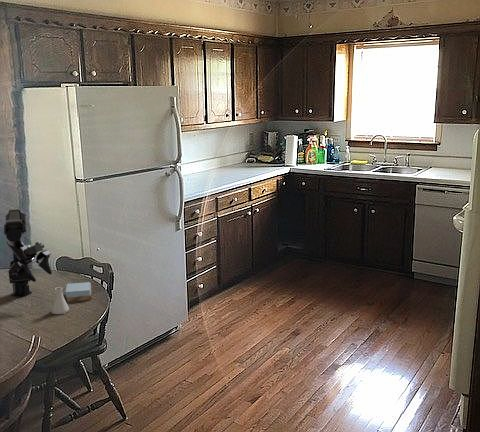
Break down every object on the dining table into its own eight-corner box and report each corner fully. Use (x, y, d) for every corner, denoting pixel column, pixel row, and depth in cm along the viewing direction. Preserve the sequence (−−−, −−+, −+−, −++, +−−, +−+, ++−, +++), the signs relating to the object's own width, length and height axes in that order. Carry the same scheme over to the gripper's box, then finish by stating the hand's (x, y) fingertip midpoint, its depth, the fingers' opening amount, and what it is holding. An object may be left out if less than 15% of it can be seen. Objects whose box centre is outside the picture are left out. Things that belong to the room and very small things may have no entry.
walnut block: (67, 303, 230) (66, 297, 229) (68, 294, 239) (67, 289, 238) (91, 300, 232) (91, 295, 231) (91, 292, 241) (91, 287, 241)
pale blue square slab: (65, 297, 229) (65, 292, 228) (67, 289, 239) (67, 283, 238) (90, 295, 231) (89, 290, 231) (90, 287, 241) (90, 282, 240)
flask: (66, 315, 216) (64, 291, 214) (48, 314, 216) (46, 291, 214) (72, 308, 223) (70, 285, 221) (54, 307, 223) (53, 285, 221)
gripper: (12, 242, 209) (37, 273, 207) (45, 231, 226) (68, 259, 224) (-2, 259, 213) (22, 289, 212) (32, 247, 230) (55, 274, 229)
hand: (43, 277), depth 219 cm, fingers open, 9 cm apart
